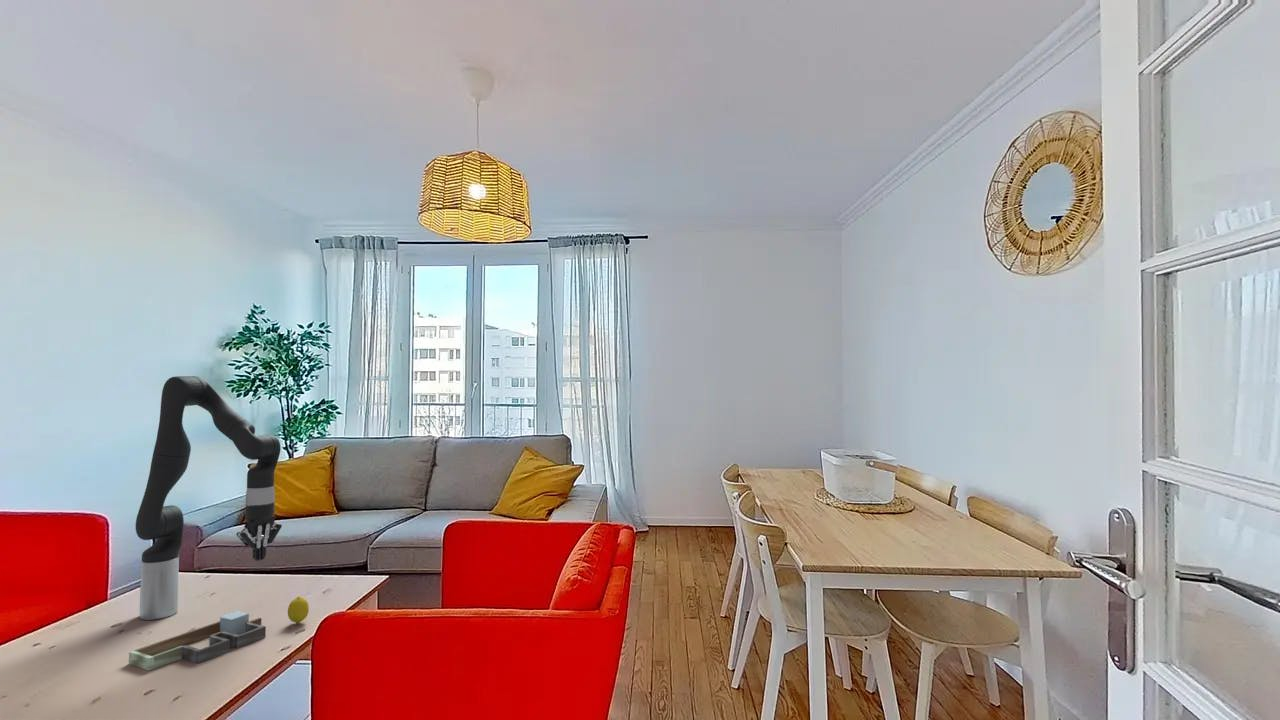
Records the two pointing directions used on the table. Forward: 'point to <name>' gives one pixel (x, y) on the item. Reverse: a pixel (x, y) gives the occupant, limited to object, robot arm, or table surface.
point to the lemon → (298, 610)
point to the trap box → (176, 650)
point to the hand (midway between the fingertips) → (259, 559)
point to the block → (234, 622)
